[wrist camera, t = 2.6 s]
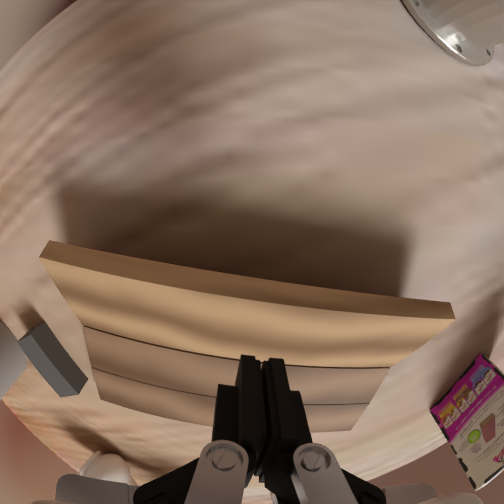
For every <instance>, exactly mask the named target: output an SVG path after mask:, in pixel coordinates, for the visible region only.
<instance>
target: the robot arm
mask: <svg viewBox="0 0 504 504" xmlns="http://www.w3.org/2000/svg"><path fill="white" fill-rule="evenodd" d="M402 1H403V3H404V4H405V6H406V7H407V9H408V10H409V12H410V13H411V15H412V16H413V17H414V19H415V20H416V21H417V23H418V24H419V25H420V26H421V27H422V28H423V29H424V31H425V32H426V33H427V34H428V35H429V36H430V37H431V38H432V39H433V40H434V41H435V42H436V43H437V44H438V45H440V46H441V47H442V48H443V49H444V50H445V51H447V52H448V53H449V54H451V55H452V56H454V57H455V58H456V59H458V60H460V61H462V62H464V63H466V64H469V65H472V66H481V65H485V64H487V63H489V62H490V61H491V60H492V58H493V54H494V45H496V44H499V43H503V42H504V0H402ZM253 473H254V476H259V483H265V488H267V489H268V490H269V491H270V492H271V498H272V502H273V504H483V502H482V501H481V500H480V499H479V498H478V497H477V496H476V495H474V494H471V493H464V492H457V493H449V494H445V495H441V496H437V494H436V491H435V489H434V487H433V486H432V485H430V484H428V483H419V484H411V485H400V486H386V487H384V488H382V489H380V488H378V487H377V486H374V485H372V484H370V483H368V482H366V481H364V480H362V479H360V478H358V477H356V476H355V475H353V474H351V473H349V472H347V471H345V470H343V469H342V468H340V466H339V464H338V462H337V460H336V458H335V456H334V454H333V453H332V451H331V450H330V449H329V448H327V447H326V446H324V445H322V444H317V443H313V442H312V438H311V434H310V430H309V426H308V421H307V417H306V413H305V409H304V405H303V401H302V397H301V393H300V392H299V391H294V390H290V386H289V382H288V377H287V372H286V367H285V362H284V359H282V358H269V359H268V361H265V360H264V361H263V364H262V368H261V363H260V360H256V358H255V356H251V355H243V354H241V357H240V361H239V366H238V371H237V376H236V381H235V386H232V385H224V384H218V388H217V395H216V402H215V411H214V421H213V432H212V442H211V443H208V444H207V445H206V446H205V447H204V448H203V450H202V452H201V455H200V457H199V458H197V459H195V460H193V461H191V462H190V463H188V464H186V465H184V466H182V467H180V468H178V469H176V470H174V471H172V472H170V473H168V474H166V475H164V476H161V477H159V478H157V479H155V480H153V481H150V482H148V483H146V484H143V485H142V486H134V485H128V484H127V483H121V482H114V481H107V480H101V479H95V478H90V477H85V476H80V475H76V474H67V475H63V476H62V477H61V478H59V480H58V482H57V486H56V497H55V501H54V500H40V501H35V502H33V503H31V504H241V502H242V497H243V491H244V488H246V487H247V486H248V484H249V482H250V480H251V477H252V475H253Z"/></svg>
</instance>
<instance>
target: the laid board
mask: <svg viewBox="0 0 504 504" xmlns="http://www.w3.org/2000/svg"><path fill="white" fill-rule="evenodd" d="M84 332H85V337H86V343H87V348H88V352H89V357H90V361H91V366H92V370H93V374H94V378H95V382H96V385H97V389H98V392H99V396H100V399H101V400H104V401H107V402H110V403H113V404H116V405H120V406H123V407H126V408H129V409H133V410H136V411H140V412H144V413H148V414H151V415H156V416H160V417H164V418H168V419H173V420H178V421H183V422H188V423H194V424H200V425H206V426H212V427H213V421H214V411H215V402H216V395H217V388H218V384H224V385H232V386H235V381H236V376H237V371H238V366H239V361H240V359H234V358H227V357H220V356H214V355H208V354H202V353H196V352H191V351H185V350H180V349H175V348H170V347H166V346H161V345H157V344H152V343H148V342H144V341H139V340H135V339H131V338H128V337H124V336H120V335H116V334H113V333H109V332H106V331H102V330H99V329H95V328H92V327H89V326H86V325H85V326H84ZM260 363H261V368H262V364H263V362H260ZM285 367H286V372H287V377H288V382H289V386H290V390H294V391H299V392H300V393H301V397H302V401H303V405H304V409H305V413H306V417H307V421H308V426H309V430H310V433H312V432H335V431H349V430H351V429H352V428H353V427H354V425H355V424H356V422H357V421H358V419H359V418H360V417H361V415H362V414H363V412H364V411H365V409H366V408H367V406H368V404H370V401H371V400H372V398H373V397H374V395H375V393H376V392H377V390H378V388H379V387H380V385H381V383H382V382H383V380H384V378H385V376H386V375H387V373H388V371H389V369H390V367H324V366H304V365H290V364H285Z"/></svg>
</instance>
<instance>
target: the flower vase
mask: <svg viewBox="0 0 504 504" xmlns="http://www.w3.org/2000/svg"><path fill="white" fill-rule="evenodd" d="M79 474H80V476H85V477H90V478H95V479H101V480H107V481H114V482H121V483H127V484H128V485H134V486H139V485H138V484H137V483H136V482H135V481H134V479H133V478H132V476H131V473H130V470H129V467H128V465H127V463H126V462H125V460H124V459H123V458H122V457H121V456H119V455H117V454H112V453H107V454H102V452H101V451H99V450H98V451H96V452H95V453H94V454H93V455H92V456H91V457H90V458H89V459H88V460H87V461H86V463H85V464H84V465H83V466H82V468H81V469H80V471H79Z"/></svg>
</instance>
